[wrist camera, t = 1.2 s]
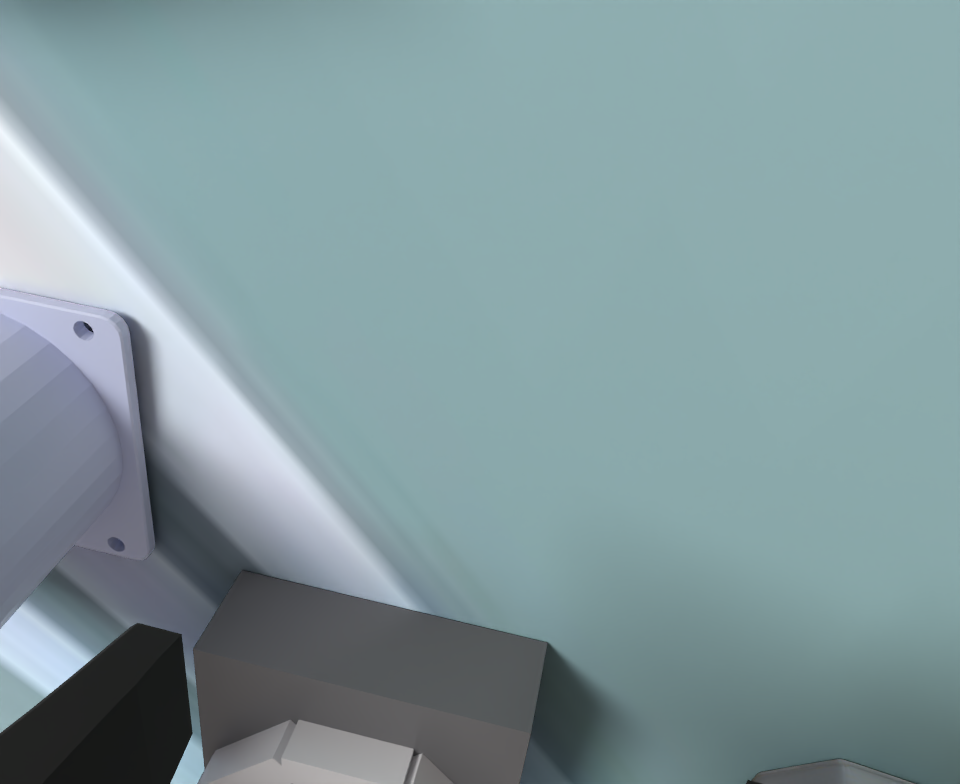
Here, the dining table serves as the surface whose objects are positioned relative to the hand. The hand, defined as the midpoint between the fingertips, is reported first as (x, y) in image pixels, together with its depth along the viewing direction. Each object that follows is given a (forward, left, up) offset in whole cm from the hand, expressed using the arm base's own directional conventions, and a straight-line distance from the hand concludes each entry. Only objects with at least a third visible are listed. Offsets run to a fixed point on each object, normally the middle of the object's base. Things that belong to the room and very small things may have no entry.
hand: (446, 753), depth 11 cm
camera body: (-3, -15, -10) cm, 19 cm away
